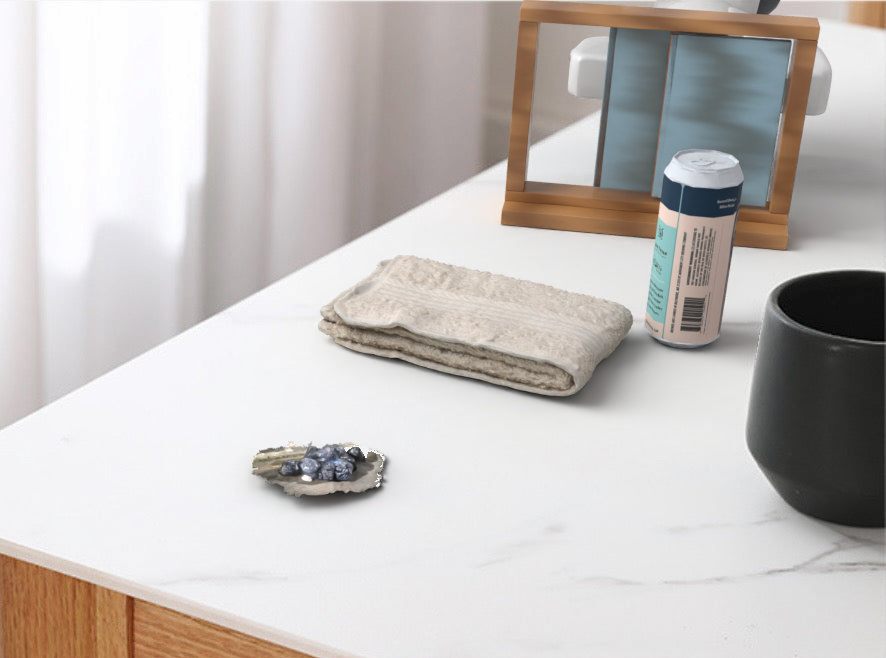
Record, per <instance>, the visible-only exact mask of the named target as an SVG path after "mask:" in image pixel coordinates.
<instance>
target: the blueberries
mask: <svg viewBox="0 0 886 658" xmlns="http://www.w3.org/2000/svg"><path fill="white" fill-rule="evenodd" d="M354 445H355V446H359V445H360V444H357V443H354V442H353V443H352V442H348V441H345V442H344V443H342V442H339V443H333V444H328V443H327V444H325V445H324V446H322V447H317V446H316V445H313V440H312V441H310V443H307V445H306V446H305V444H302V446H301V445H299V446H296V443H295V442H294V441H292V440H291V441H288V442H287V446H283V445H281V446H279V447H276V448H274V447H267V448H266V449H259V450H258V452H257V453H256V455H253V457H252V458H253V459H252V462H251V465H252V467H251V468H252V469H253V470H252V471H251V475H253V476H255V477H261V478H264V479H266V480H264V483H269V484H271V485H274V484H277V485H278V486H281V487H283V493H286V495H287V496H292V495H295V496H294V497H295V498H300V496H302V495H307V496H323V495H328V494H329V493H330V494H334V493H336V492H337V491H340V492H341V491H342V492H343V493H345V494H347V493H349V492H353V493H365V492H366V490H368V489H374V488H376V487H375V486H376V485H377V484H378V483H380V482H379V481H377V482H375V481H376V480H378V479H377V478H382V476H378V475H377V473H378V472H379V473H382V472H381V471H383V470H382V468H383V467H380V466H381V465H382V462H383V459H382V457H381V456H380V454H376V453H374V452H372V451H371V452H368V454H367V458H365V456H364V454H363V452H362V451H361V449H360V448H359V447H353V446H354ZM345 447H352V448H351V449H349V450H348V451H347V452H346V451H345V449H344V448H345ZM374 451H375V450H374ZM382 454H383V455H382V456H385V454H384V453H382Z"/></svg>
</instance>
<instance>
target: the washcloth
mask: <svg viewBox="0 0 886 658" xmlns="http://www.w3.org/2000/svg"><path fill="white" fill-rule="evenodd" d="M375 267H376V268H375V269H374V271H372V272H371V273H370V274H369V275H368V276H366V277H365V278H362V279H361V280H359V282H357V283H355V284H354V285H353V286H351V287H349V288H348V289H346V290H344V291H343V292H342V291H341V293H339V294H338V295H337V296H336V297H335V298H333V299H332V300H330V301H329V302H328V303H327V304H325V305H322V306H321V307H320V309H319V313H320V316H321V317H322V318H323V319H321V320H320V321H319V322H318V324H317V329H318V331H319V332H321V333H323V334H324V335H326V336H329V337H331V338H333V339H334V342H335V344H338V345H341V346H343V347H345V348H347V349H350V350H352V351H356V352H359V353H363V354H369V355H373V354H374V355H375V356H378V357H384V358H388V359H389V358H390V359H395V358H396V359H397V358H398V359H400V360H403V361H406V362H408V363H411V364H414V365H417V366H420V367H424V368H428V369H430V370H436V371H438V372H443V373H446V374H451V375H455V376H462V377H466V378H471V379H476V380H481V381H484V382H487V383H491V384H493V385H498V386H504V387H509V388H512V389H515V390H519V391H524V392H529V393H534V394H539V395H545V396H551V397H568V396H572V395H576V393H578V392H579V391H580V390H582V389H583V388H584V387H585V386H586V384H587V382H588V381H589V380H590V379H591V378H592V376H593V373H594V371H595V369H597V366H598V365H599V363H601V361H602V360H604V359H608V358H609V357H610V356H611V355H612V353H613V352H614V351H615V350H616V349H617V347H618V346H619V345H620V344H621V342H622V340H625V339H626V336H627V335H628V333H629V332H630V330H631V329H632V326H633V323H634V316H633V314H632V312H631V310H630V309H629V308H627V307H626V306H625V305H623V304H620V303H618V302H616V301H612V300H608V299H605V298H601V297H596V296H592V295H588V294H584V293H578V292H569V291H568V290H563V289H561V288H556V287H554V286H553V285H546V284H544V283H541V282H539V283H538V282H534V281H531V280H527V279H520V278H515V277H512V276H511V277H509V276H506V275H503V274H498V273H497V274H496V273H494V274H493V273H491V271H481V270H479V269H470V268H468V267H466V266H460V265H459V266H457V265H455V264H450V263H445V262H439V260H438V261H437V260H433V259H430V258H428V257H427V258H423V257H418V256H416V255H413V254H412V255H411V254H410V255H409V254H398V255H396V256H395V257H393V258H391V259H382V260H380V261H379V262H378V263H377V264H376V266H375Z"/></svg>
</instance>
